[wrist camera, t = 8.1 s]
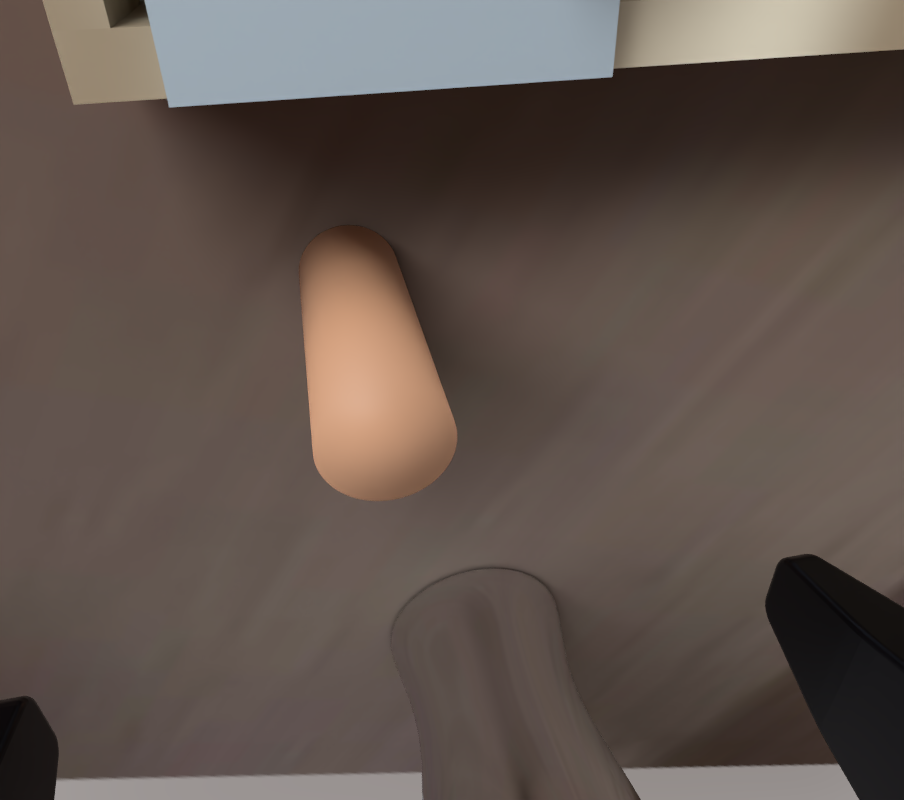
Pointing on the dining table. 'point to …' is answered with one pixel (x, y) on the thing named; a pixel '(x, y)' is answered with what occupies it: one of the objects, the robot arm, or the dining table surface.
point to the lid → (373, 46)
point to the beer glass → (498, 695)
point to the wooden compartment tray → (637, 45)
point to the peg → (369, 371)
